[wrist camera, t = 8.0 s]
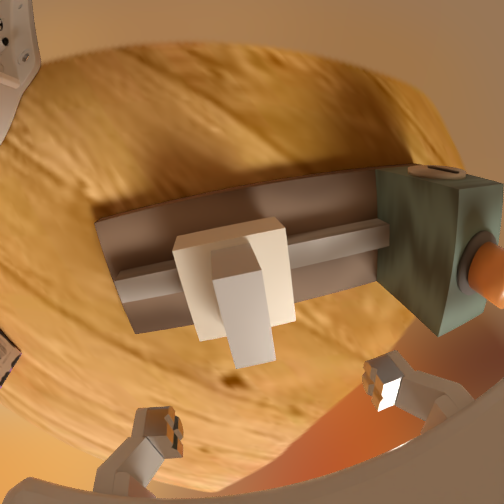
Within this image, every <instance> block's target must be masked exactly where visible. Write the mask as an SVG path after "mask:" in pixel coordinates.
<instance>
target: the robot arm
mask: <svg viewBox="0 0 504 504" xmlns="http://www.w3.org/2000/svg"><path fill="white" fill-rule="evenodd" d="M28 56H29V57H28ZM27 57H28V59H27ZM26 59H27V60H26ZM40 65H41V58H40V53H39V48H38V42H37V36H36V30H35V23H34V16H33V7H32V0H0V145H1V143H2V141H3V140H4V138H5V136H6V134H7V132H8V130H9V128H10V125H11V123H12V120H13V118H14V115H15V112H16V109H17V106H18V104H19V101H20V98H21V96H22V94H23V92H24V91H25V89H26V88H27V87H28V85H29V84H30V83H31V81H32V80H33V78H34V77H35V75H36V74H37V72H38V70H39V68H40ZM363 368H364V370H365V373H364V374H363V376H362V382H363V387H364V389H365V391H366V393H367V394H368V395H370V396H372V403H373V404H374V406H375V408H376V409H377V410H378V411H380V410H383V409H385V408H388V407H390V406H393V405H395V406H397V407H399V408H401V409H403V410H404V411H406V412H408V413H410V414H412V415H414V416H416V417H418V418H420V419H422V420H424V421H426V422H425V424H424V426H423V428H422V431H421V435H419V436H418V437H416V438H414V439H412V440H410V441H408V442H406V443H404V444H402V445H401V446H398V447H396V448H394V449H392V450H390V451H387V452H385V453H383V454H381V455H378V456H376V457H374V458H371V459H369V460H366V461H364V462H361V463H359V464H356V465H354V466H351V467H349V468H345V469H343V470H340V471H337V472H334V473H331V474H327V475H325V476H321V477H318V478H314V479H311V480H307V481H303V482H300V483H295V484H291V485H287V486H283V487H278V488H273V489H268V490H263V491H257V492H251V493H244V494H237V495H228V496H218V497H205V498H181V499H165V498H163V499H162V498H156V497H155V495H154V494H152V493H151V492H150V491H149V490H147V489H146V486H147V485H148V484H149V482H150V481H151V479H152V478H153V476H154V475H155V473H156V472H157V470H158V469H159V467H160V466H161V464H162V463H163V461H164V459H168V458H182V457H183V444H182V443H181V441H180V440H181V439H182V438H183V427H182V423H181V421H180V419H179V417H177V416H175V410H174V409H173V407H172V406H167V407H150V408H138V409H137V411H136V414H135V419H134V424H133V430H132V435H131V437H128V438H127V439H126V440H125V441H124V442H123V443H122V444H121V445H120V446H119V447H118V448H117V449H116V450H115V452H114V453H113V454H112V455H111V456H110V457H109V458H108V459H107V460H106V461H105V462H104V463H103V464H102V465H101V466H100V467H99V468H98V469H97V473H96V477H95V482H94V488H93V492H91V491H85V490H80V489H75V488H71V487H66V486H62V485H58V484H54V483H50V482H47V481H43V480H40V479H37V478H33V477H28V478H26V479H24V480H23V481H21V482H20V483H18V484H17V485H16V486H15V487H13V488H12V489H11V490H10V491H9V492H8V493H7V495H6V496H5V498H4V500H3V503H2V504H504V378H503V379H501V380H500V381H499V382H498V383H497V384H495V385H494V386H493V387H492V388H490V389H489V390H488V391H487V392H485V393H484V394H483V395H482V396H480V397H479V398H477V399H476V400H474V399H473V397H472V396H471V395H470V394H469V393H468V392H467V391H466V390H465V388H464V387H463V386H462V385H461V384H459V383H456V382H453V381H449V380H446V379H443V378H440V377H437V376H434V375H430V374H427V373H424V372H421V371H414V370H413V368H412V367H411V366H410V365H409V364H408V363H407V361H405V359H404V358H403V357H402V356H401V355H400V353H399V352H398V351H396V350H394V351H391V352H389V353H386V354H383V355H381V356H378V357H376V358H373V359H371V360H368V361H365V363H364V367H363Z"/></svg>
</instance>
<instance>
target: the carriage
mask: <svg viewBox="0 0 504 504" xmlns="http://www.w3.org/2000/svg"><path fill="white" fill-rule="evenodd" d="M172 252H173V256H174V259H175V263H176V267H177V270H178V273H179V277H180V280H181V284H182V287H183V290H184V294H185V297H186V300H187V303H188V307H189V310H190V313H191V316H192V319H193V322H194V325H195V328H196V331H197V334H198V337H199V340H200V341H205V340H210V339H216V338H221V337H226V336H227V339H228V342H229V346H230V349H231V353H232V356H233V360H234V363H235V367H236V369H238V368H243V367H248V366H253V365H257V364H262V363H266V362H271V361H275V360H276V356H275V350H274V343H273V337H272V331H271V327H272V326H277V325H281V324H285V323H289V322H293V321H296V318H295V308H294V298H293V288H292V279H291V270H290V262H289V253H288V245H287V237H286V229H285V227H284V226H283V225H282V224H281V223H280V222H279V221H278V220H277V219H276V218H275V216H274V217H268V218H263V219H258V220H253V221H248V222H243V223H238V224H233V225H228V226H223V227H218V228H213V229H208V230H204V231H199V232H194V233H190V234H185V235H180V236H177V238H176V241H175V244H174V247H173V250H172Z"/></svg>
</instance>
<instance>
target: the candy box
mask: <svg viewBox="0 0 504 504" xmlns="http://www.w3.org/2000/svg"><path fill="white" fill-rule="evenodd" d="M21 354H22V353H21V352H20V351H19V350H18V349H17V348H16V347H15V346H14V345H13V344H12V343H11V342H10V340H9V339H8V338H7V337H6V336H5V335H4V334H3V332H2V331H1V330H0V388H1V387H2V385H3V383H4V381H5V380H6V378H7V377H8V375H9V373H10V372H11V370H12V368H13V367H14V365H15V364H16V362H17V361H18V359H19V357H20V356H21Z"/></svg>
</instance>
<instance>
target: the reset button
mask: <svg viewBox="0 0 504 504" xmlns="http://www.w3.org/2000/svg"><path fill="white" fill-rule="evenodd" d="M468 283H469V286H470V288H471V289H473V290H474V291H476V292H477V293H479V294H480V295H481V296H483V297H484V298H486V299H487V300H488V301H490V302H491V303H493V304H494V305H496V306H497V307H498V308H499V309H503V308H504V248H502V247H500V246H498V245H496V244H494V243H492V242H486V243H484V244H483V245H482V246H481V247H480V248H479V249H478V251H477V252H476V254H475V256H474V258H473V260H472V263H471V265H470V269H469V274H468Z"/></svg>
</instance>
